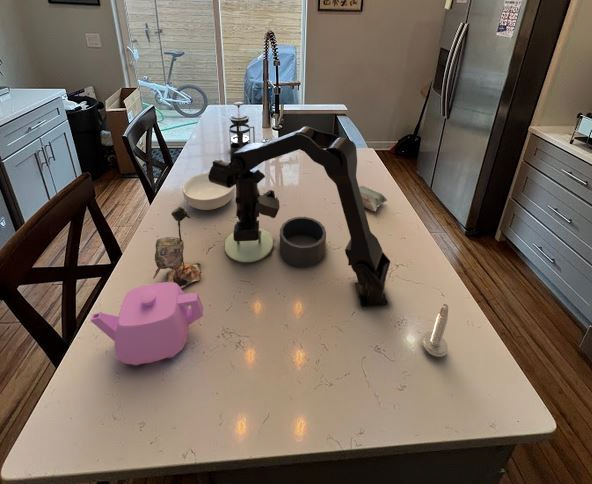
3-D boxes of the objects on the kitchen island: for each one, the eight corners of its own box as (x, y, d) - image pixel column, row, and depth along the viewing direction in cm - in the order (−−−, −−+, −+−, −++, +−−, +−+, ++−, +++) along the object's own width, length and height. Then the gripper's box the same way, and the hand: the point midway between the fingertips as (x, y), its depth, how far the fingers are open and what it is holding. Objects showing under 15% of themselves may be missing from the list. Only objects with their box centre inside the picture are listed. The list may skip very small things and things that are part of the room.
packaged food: (374, 217, 107) (376, 204, 105) (344, 202, 114) (345, 190, 112) (386, 205, 113) (388, 193, 111) (357, 192, 120) (358, 180, 118)
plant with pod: (159, 267, 86) (148, 203, 78) (204, 263, 87) (197, 200, 79) (151, 293, 78) (137, 226, 71) (200, 289, 80) (191, 222, 72)
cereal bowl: (197, 224, 101) (195, 205, 99) (177, 199, 113) (174, 182, 110) (244, 204, 112) (244, 186, 109) (221, 183, 123) (220, 167, 121)
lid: (273, 262, 88) (273, 247, 86) (221, 265, 86) (220, 250, 84) (272, 228, 100) (272, 215, 98) (227, 230, 99) (226, 216, 97)
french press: (229, 157, 142) (226, 107, 133) (227, 148, 151) (224, 100, 142) (256, 154, 145) (255, 105, 136) (253, 145, 154) (251, 98, 145)
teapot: (205, 305, 76) (200, 263, 71) (205, 359, 65) (199, 314, 60) (110, 322, 71) (98, 279, 66) (92, 384, 60) (76, 338, 55)
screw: (426, 363, 65) (416, 339, 70) (450, 361, 65) (439, 338, 70) (439, 317, 60) (428, 294, 64) (465, 316, 60) (451, 293, 65)
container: (328, 265, 88) (329, 246, 85) (280, 267, 87) (281, 248, 84) (320, 233, 99) (321, 216, 97) (279, 235, 98) (279, 217, 96)
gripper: (279, 212, 78) (278, 262, 84) (276, 172, 95) (276, 216, 102) (231, 214, 77) (235, 264, 83) (237, 173, 94) (240, 217, 101)
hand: (248, 238), depth 92 cm, fingers closed on lid
